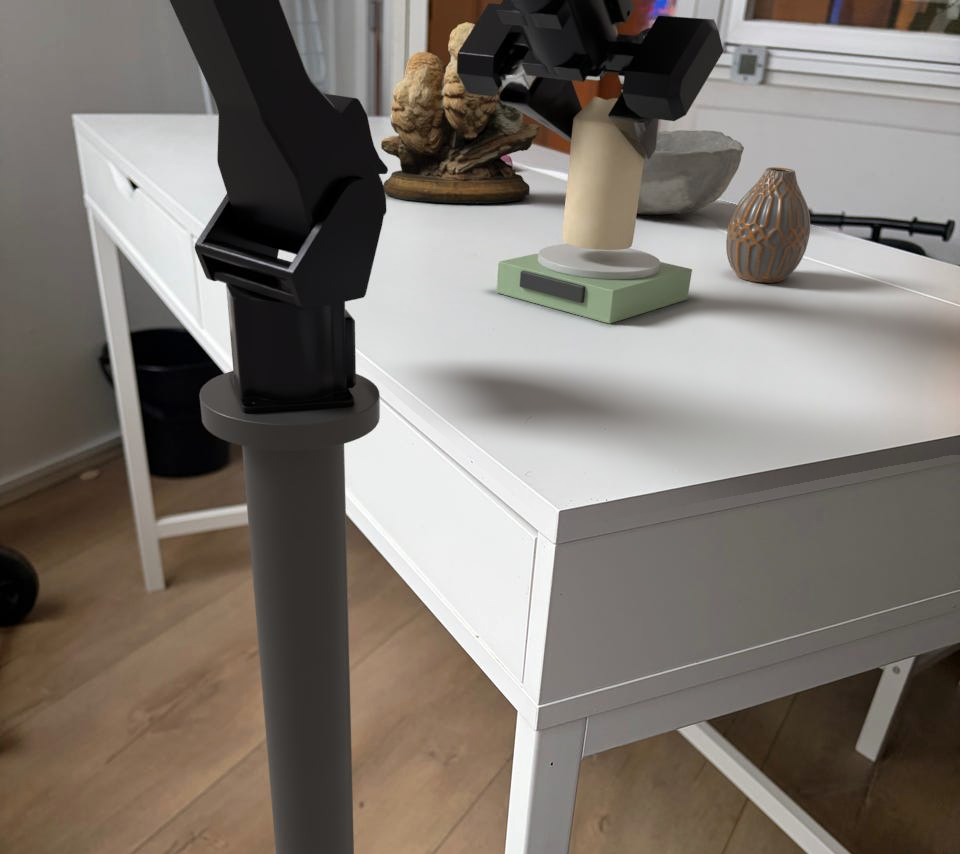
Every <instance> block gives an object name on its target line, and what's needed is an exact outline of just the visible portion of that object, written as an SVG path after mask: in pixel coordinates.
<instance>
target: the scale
mask: <svg viewBox="0 0 960 854" xmlns="http://www.w3.org/2000/svg"><path fill="white" fill-rule="evenodd" d="M497 267H498V268H497V278H496V279H497V280H496V282H497V283H496V293H497V294H499V295H504V296H508V297H511V298H515V299H518V300H522V301H525V302H529V303H532V304H537V305H541V306H544V307H547V308H551V309H555V310H558V311H562V312H565V313H570V314H573V315H577V316H580V317H583V318H587V319H591V320H594V321H599V322H602V323H605V324H609V325H610V324H613V323H616V322H619V321H622V320H626V319H629V318H632V317H635V316H638V315H639V316H640V315H643V314H645V313H649V312H652V311H655V310H658V309H661V308H664V307H668V306H671V305H674V304H677V303H681V302H684V301H687V300H688V299H689V298H688V297H689V292H690V287H691V286H690V285H691V281H692V273H693V269H692V268H689V267H685V266H681V265H676V264H671V263H667V262H664V261H661V260H660V259H659V258H658V257H656V256H655V255H653V254H651V253H648V252H646V251H642V250H639V249H635V248H631V247H630V248H627V249H620V250H597V249H588V248H582V247H577V246H573V245H570V244H567V243H561V244H554V245H550V246H549V245H548V246H545V247H543V248H542V249H540V250H539V251H538V252H537V253H533V254H528V255H524V256H518V257H513V258H509V259H505V260H500V261H498V263H497Z"/></svg>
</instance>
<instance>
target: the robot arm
mask: <svg viewBox="0 0 960 854" xmlns="http://www.w3.org/2000/svg"><path fill="white" fill-rule="evenodd" d="M169 2H170V5H171V7H172V9H173V11H174V13H175V16H176V19H177V20H178V22H179V25H180V27H181V29H182V30H183V31H182V32H183V33H184V36H185V38H186V40H187V43H188V44H189V46H190V49H191V51H192V53H193V56H194V57H195V60H196V62H197V65H198V66H199V68H200V71H201V73H202V75H203V77H204V80H205V82H206V84H207V86H208V89H209V90H210V92H211V96H212V97H213V100H214V102H215V105H216V108H217V112H218V113H217V115H218V121H217V122H218V123H217V153H216V154H217V157H216V161H217V166H218V169H219V172H220V175H221V178H222V182H223V185H224V188H225V191H226V194H225V196H224V198H223V199H222V201H221V202H220V204H219V205H218V207H217V208H216V210H215V211H214V213H213V215H212V216H211V217H210V219H209V221H208V223H207V224H206V226H205V227H204V229H203V230H202V232H201V234H200V235H199V236H198V238H197V240H196V242H195V244H194V251H195V254H196V256H197V258H198V261H199V263H200V267H201V268H202V271H203V274H204V276H205V278H206V279H207V280H208V281H209V280H210V281H212V282H220V283H224V284H225V289H226V300H227V301H226V302H227V314H228V326H229V336H230V337H229V338H230V347H231V349H230V350H231V360H232V370H231V371H228V372H229V378H230V382H231V385H232V387H233V390H234V392H235V395H236V398H237V400H238V403H239V405H240V408H241V411H242V412H243V413H245V414H261V413H276V412H291V411H305V410H320V409H335V408H349V407H353V406H354V397H353V395H352V394H351V392H350V390H349V389H348V388H353V387H354V386H355V385H356V374H357V366H356V365H357V362H356V358H357V357H356V320H355V318H354V317H353V316H352V315H351V314H350V312H349V311H348V309H347V308H346V302H350V301H354V300H359V299H363V298H365V296H366V295H367V291H368V288H369V287H368V286H369V283H370V278H371V275H372V270H373V265H374V262H375V257H376V253H377V248H378V244H379V241H380V236H381V232H382V228H383V223H384V217H385V216H386V214H387V196H386V193H385V191H384V187H383V184H384V182H383V180H382V177H381V175H386V174H388V172H389V168H388V166H387V165H386V164H385V163H384V162H383V160H382V159H381V157H380V155H379V153H378V151H377V148H376V146H375V144H374V140H373V136H372V133H371V127H370V122H369V117H368V114H367V112H366V110H365V108H364V106H363V105H362V103H361V101H360V99H359V98H357V97H352V96H345V95H339V94H333V93H332V94H331V93H325V92H322V91H321V90H320V88H318V86H317V85H316V84H315V82H314V81H313V80H312V78H311V77H310V75H309V73H308V72H307V71H308V70H307V69H306V67H305V64H304V61H303V58H302V56H301V55H302V54H301V53H300V49H299V48H298V45H297V42H296V39H295V38H294V37H295V36H294V34H293V32H292V28H291V26H290V24H289V21H288V18H287V15H286V13H285V10H284V8H283V4H282V2H281V0H169ZM634 10H635V5H634V2H633V0H502V1H501V2H500V3H492V2H488V3H487V5H486V7H485V8H484V10H483V12H482V13H481V15H480V16H479V18H478V19H477V21H476V22H475V26H474V27H473V29H472V31H471V32H470V34H469V36H468V37H467V39H466V40H465V42H464V44H463V45H462V47H461V48H460V50H459V52H458V54H457V74H458V76H459V78H460V79H461V81H462V83H463V85H464V87H465V89H466V91H467V92H468V93H469V94H477V95H484V96H492V97H495V96H496V94H497V92H498V91H499V89H500V87H501V85H503V87H504V88H503V90H502V91H501V93H500V95H499V99H500V101H501V102H502V103H503V104H505V105H509V106H512V107H514V108H515V109H517V110H519V111H520V112H522V113H523V115H526V116H527V117H529V118H531V119H532V120H534V121H536V122H538V123H539V124H541V125H543V126H544V127H545V128H547V129H549V130H550V131H552V132H554V133H555V134H556V135H559V136H560V137H561V138H563V139H564V140H566V141H568V142H569V143H571V139H572V129H573V119H574V117H575V116H576V115H577V114H578V113H579V112H580V111H581V110H582V109H583V107H582V104H581V101H580V98H579V96H578V94H577V91H576V88H575V85H574V83H573V81H574V82H581V83H584V82H586V80H589V81H601V80H602V79H603V78H604V76H605V74H614V75H617V77H618V79H619V81H620V84H621V85H622V86H621V88H620V90H621V92H620V94H619V96H618V99H617V101H616V103H615V104H614V106H613V108H612V109H611V111H610V113H609V114H608V117H609V118H610V119H611V121H612V122H613V123H614V124H615V126H616V127H617V128H618V129H619V130H620V132H621V133H622V134H623V135H624V137H625V138H626V139H627V140H628V141H629V143H630V144H631V145H632V146H633V148H634V149H635V150H636V151H637V152H638V153H639V154H640V155H641V156H642V157H643V158H644V159H647V160H649V159H650V158H651V156H652V155H653V153H654V151H655V149H656V141H657V132H658V129H659V120H660V121H668V122H669V121H670V122H676V121H677V120H679V119H682V118H684V117H685V116H687V114H688V112H689V110H690V109H691V108H692V106H693V104H694V103H695V101H696V99H697V97H698V95H699V93H700V92H701V90H702V88H703V87H704V85H705V84H706V82H707V80H708V79H709V77H710V75H711V74H712V72H713V70H714V68H715V66H716V65H717V64H718V63H719V62H718V61H720V58H721V57H722V55H723V53H724V47H723V43H722V40H721V39H722V38H721V35H720V32H719V29H718V26H717V23H716V21H715V19H713V18H701V17H699V18H698V17H687V16H686V17H685V16H672V15H657V17H656V19H655V20H654V21H653V24H652V25H651V27H648V28H645V29H642V30H641V31H640V32H639V33H638V34H636V35H635V34H634V35H633V34H623V33H619V32H618V29H617V28H618V27H619V25H620V23H621V24H626V23H627V22H628V20H629V19H630V17H631V15H632V14H633V12H634ZM279 251H282V252H286V253H289V254H293V255H295V256H294V258H293V260H292V261H289V260H286V259H283V258H280V257H278V256H279Z"/></svg>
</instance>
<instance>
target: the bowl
mask: <svg viewBox="0 0 960 854" xmlns="http://www.w3.org/2000/svg"><path fill="white" fill-rule="evenodd" d="M744 149H745V147H744V146H743V145H742V143H741V142H740V141H738V140H737V139H734V138H732V137H731V136H730V135H725V134H724V133H723V132H721V131H716V130H704V129H703V130H701V129H700V130H685V129H684V130H683V129H682V130H681V129H680V130H673V131H668V130H663V131H662V130H661V131H657V141H656V149H655V151H654V153H653V155H652V156H651V158H650V159H649V160H647V159H644V163H643V170H642V178H641V185H640V193H639V200H638V208H637V214H639V215H643V216H644V215H645V216H657V215H658V216H662V215H674V214H675V215H676V214H688V213H691V212H693V211H697V210H700V209H703V208H705V207H707V206H709V205H711V204H713V203H714V202H716V201H717V200H718V199H719V198H721V196H722V195H723V194H724V193H725V192H726V190H727V189H728V187H729V186H730V184H731V182H732V180H733V178H734V177H735V175H736V174H737V172H738V169H739V167H740V164H741V161H742V155H743V152H744V151H745V150H744Z"/></svg>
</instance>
